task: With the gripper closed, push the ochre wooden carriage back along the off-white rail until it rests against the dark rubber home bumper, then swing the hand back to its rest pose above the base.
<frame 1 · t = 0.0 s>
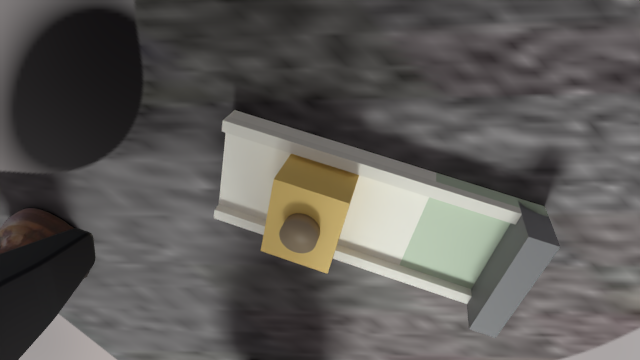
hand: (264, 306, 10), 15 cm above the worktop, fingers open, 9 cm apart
rail: (367, 205, 25), on the worktop
mortar and pestle: (69, 239, 34), on the worktop
carriage: (307, 217, 23), point 3 cm above the worktop, slide at 8.0 cm
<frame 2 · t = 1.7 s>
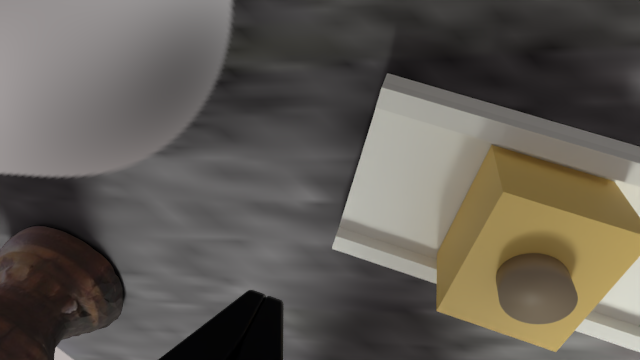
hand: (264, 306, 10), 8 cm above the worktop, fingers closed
rail: (592, 230, 15), on the worktop
mortar and pestle: (94, 269, 24), on the worktop
carriage: (525, 255, 13), point 3 cm above the worktop, slide at 8.0 cm
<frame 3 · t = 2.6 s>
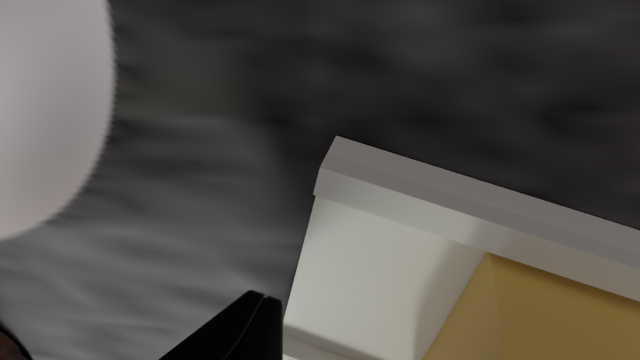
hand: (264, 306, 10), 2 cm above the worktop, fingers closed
rail: (632, 354, 11), on the worktop
mortar and pestle: (0, 345, 20), on the worktop
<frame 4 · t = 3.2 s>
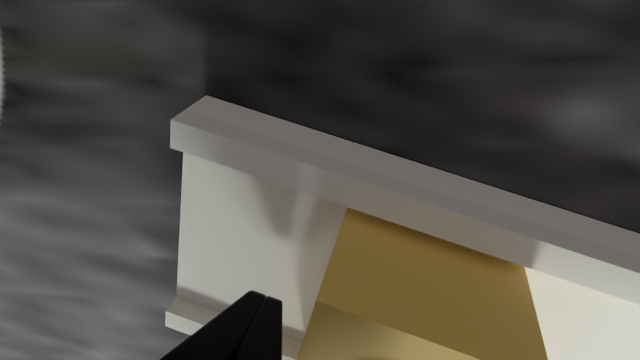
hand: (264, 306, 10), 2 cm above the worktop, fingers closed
rail: (504, 313, 11), on the worktop
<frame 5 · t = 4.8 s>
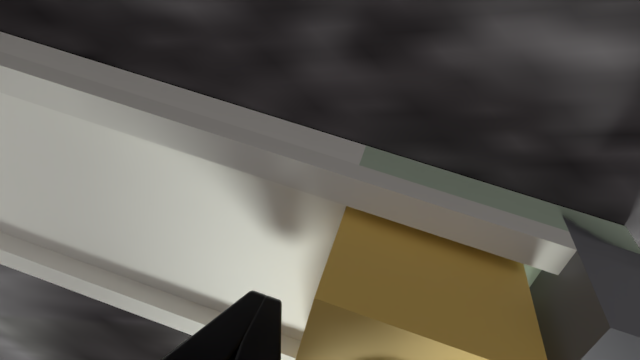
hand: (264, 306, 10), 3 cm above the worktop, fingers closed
rail: (233, 219, 12), on the worktop
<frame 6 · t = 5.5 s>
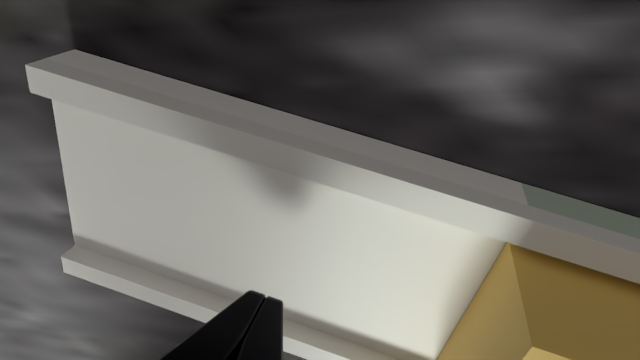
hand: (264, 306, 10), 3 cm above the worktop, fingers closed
rail: (363, 249, 12), on the worktop
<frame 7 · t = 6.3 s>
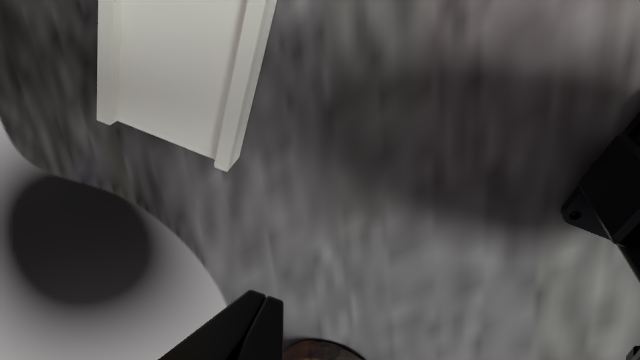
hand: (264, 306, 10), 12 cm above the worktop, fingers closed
mortar and pestle: (323, 355, 29), on the worktop
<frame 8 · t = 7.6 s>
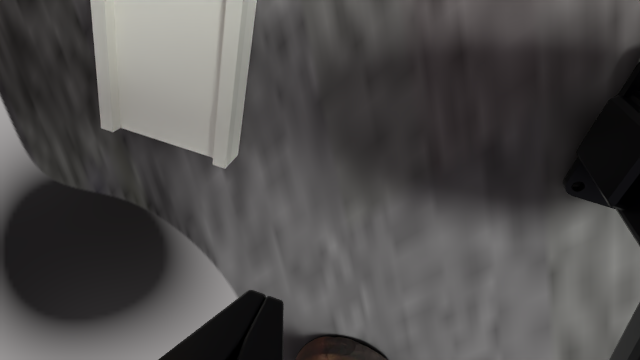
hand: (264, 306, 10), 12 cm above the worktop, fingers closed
mortar and pestle: (340, 352, 29), on the worktop
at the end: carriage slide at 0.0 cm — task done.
